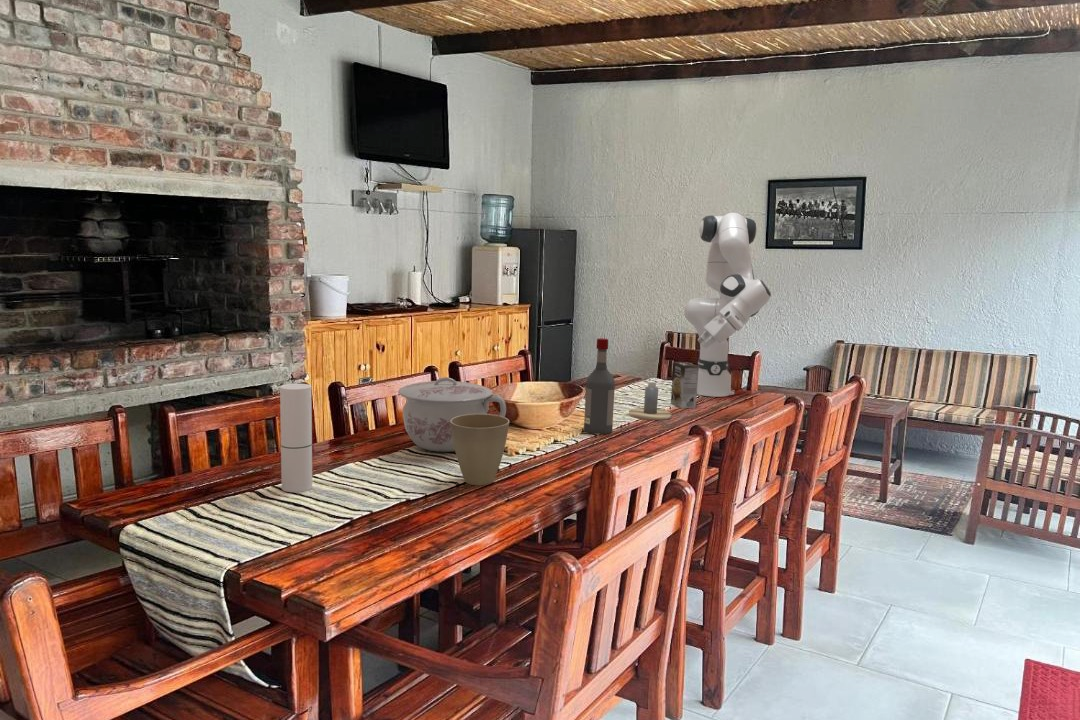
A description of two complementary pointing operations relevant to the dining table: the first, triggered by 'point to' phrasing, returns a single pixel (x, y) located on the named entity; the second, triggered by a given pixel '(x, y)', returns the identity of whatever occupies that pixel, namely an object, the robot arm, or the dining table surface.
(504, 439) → the plant pot
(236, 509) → the dining table surface
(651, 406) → the small gray bottle
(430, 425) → the chamber pot
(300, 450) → the cylindrical container
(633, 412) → the trivet
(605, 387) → the liquor
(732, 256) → the robot arm
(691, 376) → the coffee box
